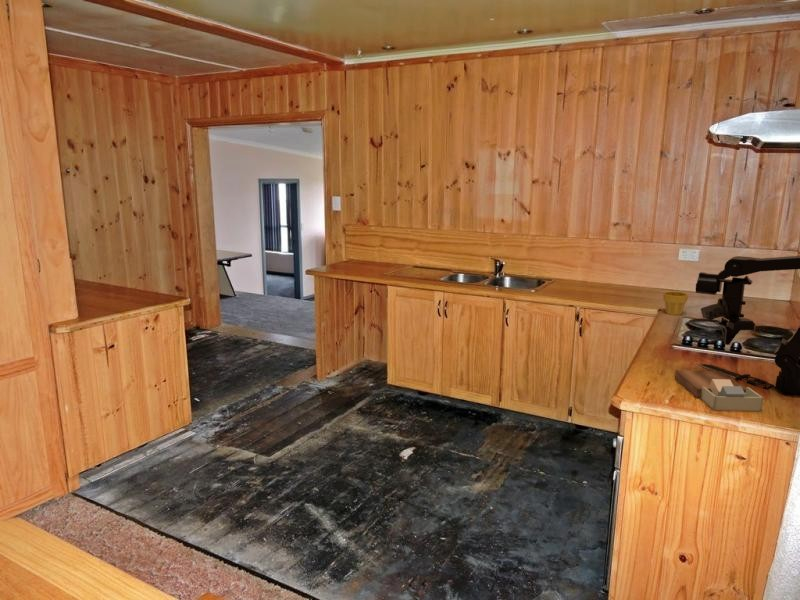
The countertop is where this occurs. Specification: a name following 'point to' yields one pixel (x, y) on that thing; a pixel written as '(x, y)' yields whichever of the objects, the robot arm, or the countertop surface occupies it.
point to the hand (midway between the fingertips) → (726, 344)
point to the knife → (740, 376)
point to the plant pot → (675, 302)
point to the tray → (733, 401)
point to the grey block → (732, 391)
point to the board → (700, 380)
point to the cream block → (719, 385)
